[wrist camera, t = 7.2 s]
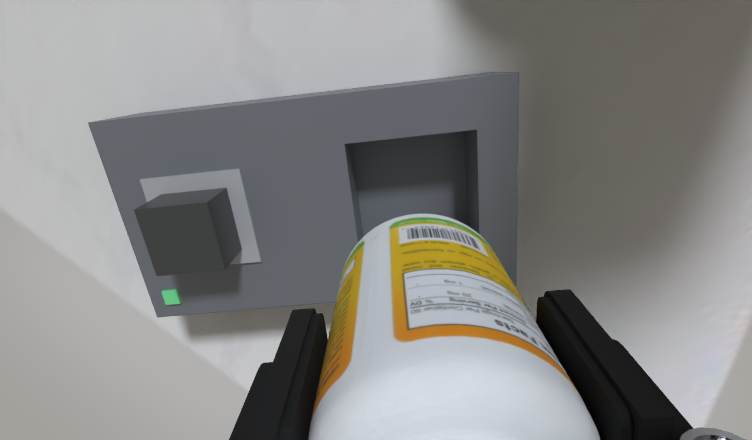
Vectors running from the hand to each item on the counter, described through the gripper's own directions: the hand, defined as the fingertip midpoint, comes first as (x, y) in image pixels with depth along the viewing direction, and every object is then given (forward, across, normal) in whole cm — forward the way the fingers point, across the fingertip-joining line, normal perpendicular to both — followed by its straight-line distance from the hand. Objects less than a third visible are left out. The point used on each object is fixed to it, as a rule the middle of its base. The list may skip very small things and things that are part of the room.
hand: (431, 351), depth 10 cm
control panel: (+19, +5, +1) cm, 20 cm away
